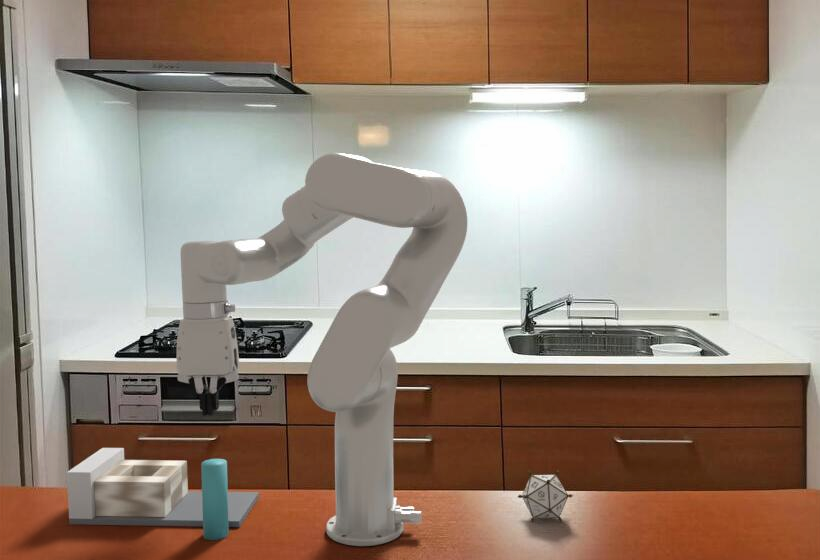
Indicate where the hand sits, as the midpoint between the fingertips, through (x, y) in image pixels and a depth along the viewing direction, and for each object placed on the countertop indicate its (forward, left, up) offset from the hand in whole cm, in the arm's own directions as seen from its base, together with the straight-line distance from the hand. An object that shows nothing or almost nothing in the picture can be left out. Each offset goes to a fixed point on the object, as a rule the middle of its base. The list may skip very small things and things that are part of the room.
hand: (209, 413), depth 133 cm
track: (+7, +3, -17) cm, 18 cm away
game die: (-59, +4, -17) cm, 61 cm away
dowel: (-5, +13, -17) cm, 21 cm away
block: (+11, +3, -15) cm, 19 cm away
